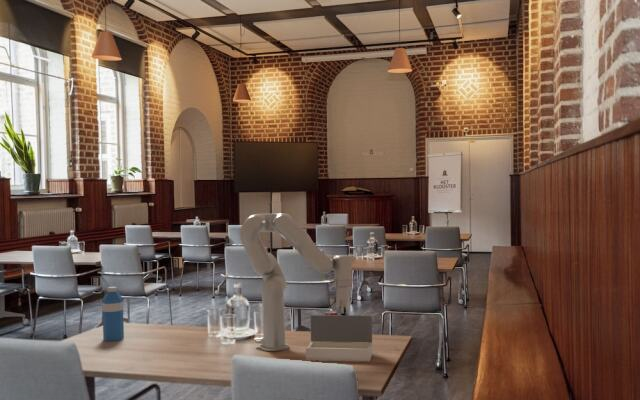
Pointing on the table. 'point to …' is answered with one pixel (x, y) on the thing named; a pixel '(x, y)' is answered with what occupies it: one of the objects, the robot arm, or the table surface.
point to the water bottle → (113, 315)
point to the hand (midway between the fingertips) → (344, 324)
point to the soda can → (330, 313)
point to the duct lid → (341, 328)
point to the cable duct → (339, 351)
